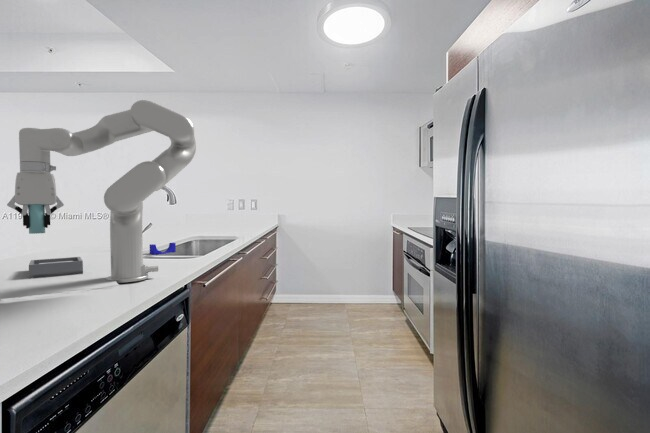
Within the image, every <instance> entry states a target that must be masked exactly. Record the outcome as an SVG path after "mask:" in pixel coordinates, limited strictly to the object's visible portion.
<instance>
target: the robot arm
mask: <svg viewBox="0 0 650 433" xmlns="http://www.w3.org/2000/svg"><path fill="white" fill-rule="evenodd" d="M151 132H156V133H158V134H160V135H162V136H165V137H168V138H169V140H170V145H169V147H168V148H166V149H165V150H164V151H163V152H161V153H160V154H159V155H158V156H156V157H155V158H154V159H153V160H151V161H149V160H145V161H142V162H140V163H137V165H135V166H134V167H132V168H131V169H130V170H128V171H127V172H126V173H125V174H123V175H122V176H121V177H119V179H118V180H115V182H113V183H112V184H110V186H108V188H107V189H106V190H105V193H104V196H103V201H104V202H103V203H104V204H105V206H106V209H108V210H109V211H110V215H109V216H110V217H109V218H110V219H109V236H110V237H109V239H110V240H109V242H110V249H109V250H110V276H109V275H108V276H106V277H105V280H107V281H115V282H116V283H117V284H120V283H121V284H122V283H123V284H125V283H133V282H139V281H144V280H147V279H148V278H149V273H155V272H159V266H158V265H153V266H148V265H146V264H144V254H143V253H144V251H143V249H144V248H143V208H144V207H143V206H144V203H143V202H144V201H145V200H147V198H149V197H150V196H151V195H153V194H154V193H155V192H158V191H161V190H162V189H163V188H164V186H166V185H167V184H168V183H169V182H170V181H171V180H172V179H173V178H175V177H176V176H177V175H179V173H180V172H181V171H183V170H184V169H185V168H186V167H187V166H188V165H189V164H190V163H191V161H193V159H194V157H195V155H196V150H197V143H196V136H195V127H194V125H193V122H192V121H191V120H190V119H189V118H187V117H186V116H185V115H183V114H180V113H178V112H176V111H174V110H171V109H169V108H167V107H164V106H162V105H161V104H158V103H155V102H153V101H150V100H146V99H144V100H143V99H141V100H137V101H135V102H133V103H132V105H131V106H130V109H128V110H122V111H119V112H116V113H112V114H107V115H104V116H103V117H101V119H100V120H99V121H98V122H97V123H96V124H94V125H93V126H91V127H89V128H86V129H83V130H80V131H76V132H71V131H70V130H69V129H66V128H63V127H54V128H38V127H37V128H36V127H23V128H21V129H19V131H18V142H19V143H18V144H19V145H18V148H19V149H18V150H19V153H18V154H19V172H17V173H16V177H15V184H14V195H13V196H12V198H11V199H10V200H9V202H8V203H7V204H6V206H8V207H9V208H11V209H13V210H15V211H16V212H18V213H19V214H21V215H22V225H23V227H25V229H29V214H28V205H32V204H40V205H44V206H45V229H46V228H47V229H48V228H49V227H48V226H51V215H52V214H53V213H54V212H55V211H57V210H59V208H62V207H64V206H65V204H64V203H63V202H62V200H61V199H60V198H59V197H58V195H57V186H56V178H55V176H54V173H51V172H53V171H57V166H55V165H52V164H51V152H55V153H58V154H60V155H61V154H62V155H64V156H66V157H75V156H76V157H77V156H80V155H85V154H87V153H91V152H94V151H97V150H101V149H103V148H104V147H107V146H110V145H112V144H115V143H116V142H119V141H123V140H127V139H130V138H132V137H137V136H141V135H144V134H147V133H151ZM16 204H17V205H16ZM18 205H19V206H18ZM53 205H54V206H53ZM20 206H22V207H20ZM50 206H52V207H50Z"/></svg>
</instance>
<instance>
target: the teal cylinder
mask: <svg viewBox="0 0 650 433" xmlns="http://www.w3.org/2000/svg"><path fill="white" fill-rule="evenodd" d="M27 213H28V216H29V228H28V233H29V234H30V235H31V234H33V235H35V234H46V227H45V213H46V210H45V206H44V205H40V204H32V205H28V211H27Z"/></svg>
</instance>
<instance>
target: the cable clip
mask: <svg viewBox="0 0 650 433" xmlns="http://www.w3.org/2000/svg"><path fill="white" fill-rule="evenodd" d="M176 245H177V244H176V242H169V245H168V247H167V249H166V250H164V251H163V252H162V251H161V250H158V248H157V245H156V244H149V254H150V255H152V256H153V255H154V256H155V255H164V254H165V255H166V254H168V253H170V254H171V253H176Z"/></svg>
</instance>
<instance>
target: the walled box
mask: <svg viewBox="0 0 650 433" xmlns="http://www.w3.org/2000/svg"><path fill="white" fill-rule="evenodd" d="M83 267H84V263H83V259H82V258H81V256H73V257H71V256H70V257H57V258H43V259H31V260H30V261H29V264H28V278H29V279H37V278H38V279H39V278H49V277H60V276H71V275H80V274H82V275H83V274H84V268H83Z"/></svg>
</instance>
